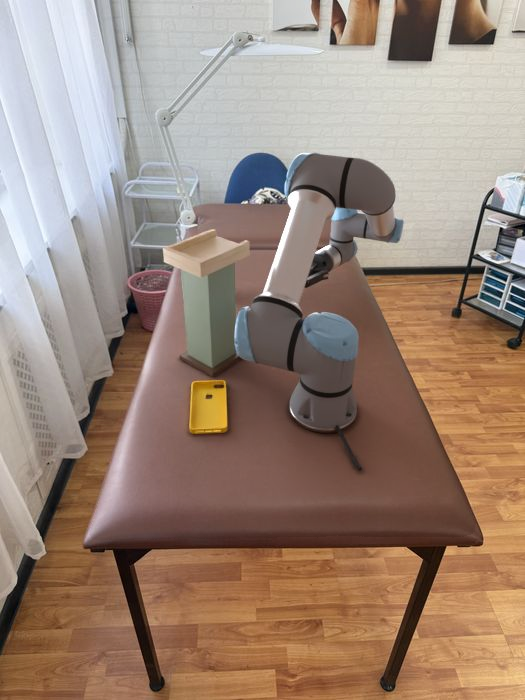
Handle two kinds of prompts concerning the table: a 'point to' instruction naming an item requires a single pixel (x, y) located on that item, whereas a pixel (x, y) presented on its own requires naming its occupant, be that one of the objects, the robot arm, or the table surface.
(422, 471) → the table surface
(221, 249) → the stand
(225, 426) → the phone case
